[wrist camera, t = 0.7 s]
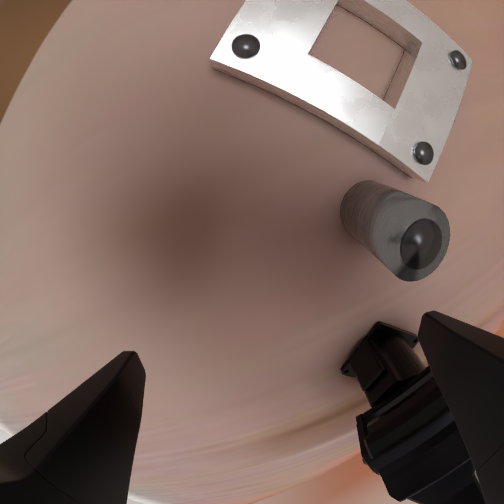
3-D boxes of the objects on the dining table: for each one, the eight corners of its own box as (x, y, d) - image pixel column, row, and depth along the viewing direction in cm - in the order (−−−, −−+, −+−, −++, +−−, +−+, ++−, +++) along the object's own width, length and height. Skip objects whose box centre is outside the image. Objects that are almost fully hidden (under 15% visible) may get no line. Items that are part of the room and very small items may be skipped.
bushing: (401, 198, 19) (462, 227, 13) (374, 247, 21) (425, 293, 14) (358, 169, 18) (416, 188, 12) (329, 223, 20) (373, 266, 13)
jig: (454, 63, 15) (475, 60, 12) (410, 177, 19) (430, 183, 16) (287, -44, 11) (294, -62, 9) (213, 68, 15) (209, 57, 13)
